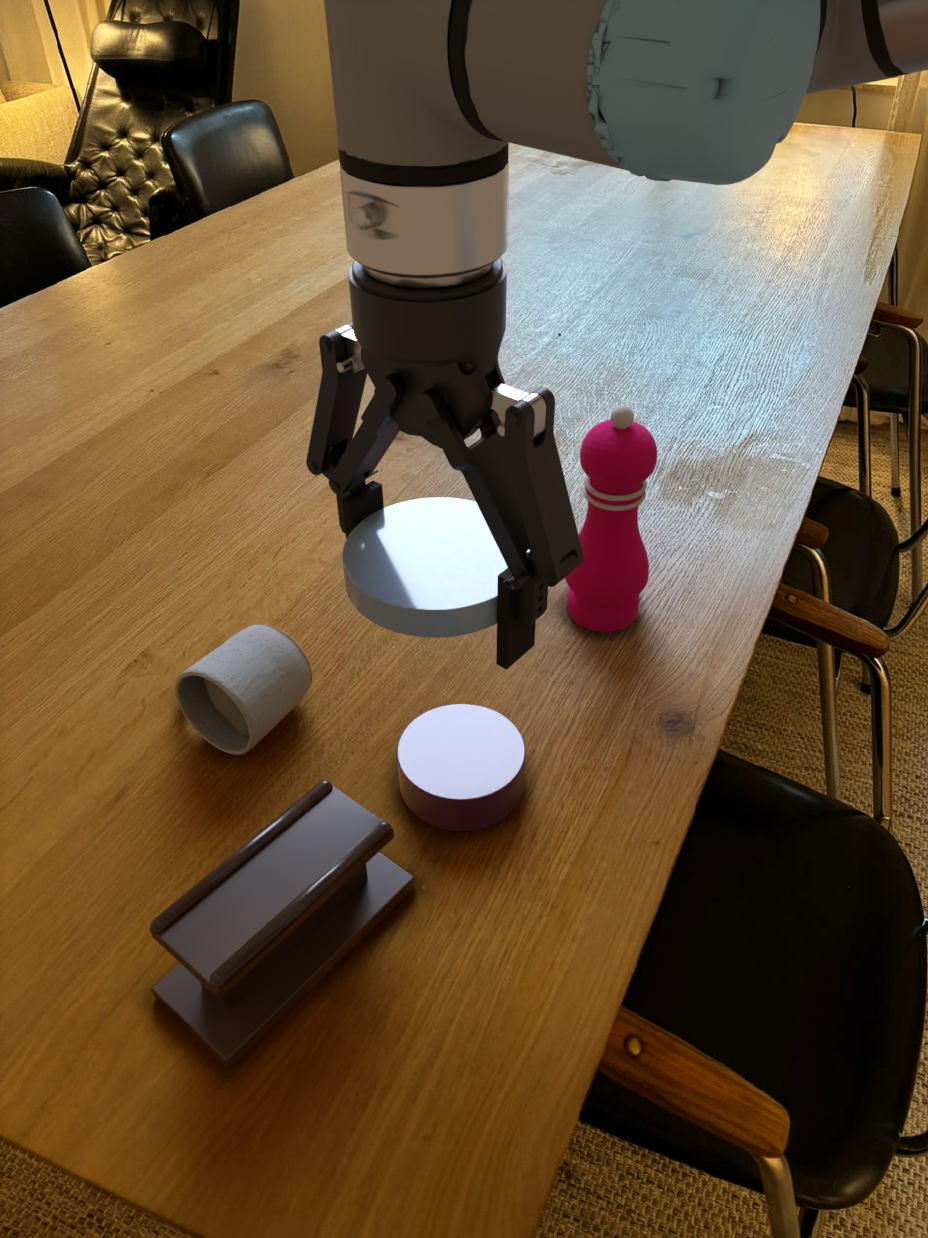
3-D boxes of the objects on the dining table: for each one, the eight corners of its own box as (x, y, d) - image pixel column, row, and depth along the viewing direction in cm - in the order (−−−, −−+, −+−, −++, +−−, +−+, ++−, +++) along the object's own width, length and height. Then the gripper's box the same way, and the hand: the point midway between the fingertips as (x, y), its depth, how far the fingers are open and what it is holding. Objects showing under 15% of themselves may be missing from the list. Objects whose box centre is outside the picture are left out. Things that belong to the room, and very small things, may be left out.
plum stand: (548, 774, 74) (551, 742, 71) (469, 854, 68) (469, 822, 66) (454, 717, 78) (453, 685, 76) (373, 788, 73) (370, 756, 71)
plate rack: (415, 887, 66) (410, 816, 61) (229, 1071, 57) (205, 1005, 52) (341, 833, 70) (331, 762, 65) (154, 998, 60) (126, 930, 56)
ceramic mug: (324, 702, 79) (312, 630, 75) (259, 770, 74) (241, 696, 69) (223, 659, 84) (206, 588, 79) (154, 721, 78) (131, 648, 73)
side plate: (567, 567, 59) (569, 540, 58) (449, 665, 53) (448, 638, 52) (428, 503, 65) (427, 477, 63) (306, 585, 58) (302, 558, 57)
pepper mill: (544, 608, 88) (555, 406, 75) (598, 574, 92) (617, 375, 79) (606, 648, 84) (629, 441, 71) (660, 610, 88) (691, 407, 75)
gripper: (203, 226, 50) (264, 570, 64) (591, 354, 39) (561, 738, 53) (310, 188, 54) (345, 518, 69) (687, 293, 43) (635, 663, 57)
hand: (439, 614), depth 61 cm, fingers closed on side plate, 11 cm apart
